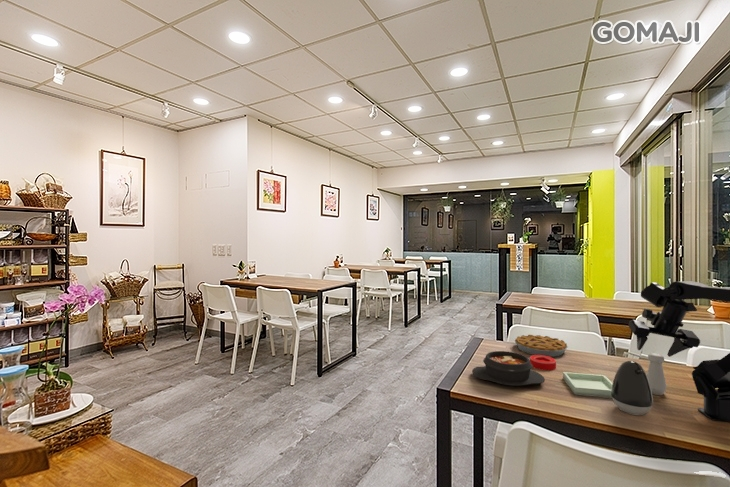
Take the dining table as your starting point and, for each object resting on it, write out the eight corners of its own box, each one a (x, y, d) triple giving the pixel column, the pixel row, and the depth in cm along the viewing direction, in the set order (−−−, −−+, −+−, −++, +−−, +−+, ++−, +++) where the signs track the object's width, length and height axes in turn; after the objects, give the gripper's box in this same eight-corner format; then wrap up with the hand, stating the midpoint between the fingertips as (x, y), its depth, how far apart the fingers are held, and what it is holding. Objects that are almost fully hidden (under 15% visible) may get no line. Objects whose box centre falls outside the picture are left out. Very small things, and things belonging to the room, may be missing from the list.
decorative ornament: (549, 362, 150) (549, 355, 150) (560, 371, 140) (560, 363, 140) (526, 361, 151) (526, 354, 151) (534, 370, 141) (534, 362, 141)
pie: (528, 340, 181) (528, 330, 181) (575, 350, 164) (575, 340, 164) (506, 349, 167) (506, 338, 167) (555, 362, 150) (555, 350, 150)
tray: (621, 398, 116) (621, 391, 116) (575, 394, 119) (575, 387, 119) (604, 381, 129) (604, 375, 129) (562, 378, 133) (562, 372, 133)
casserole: (474, 387, 125) (474, 364, 125) (470, 368, 144) (470, 347, 143) (551, 393, 120) (551, 369, 120) (537, 372, 138) (537, 351, 138)
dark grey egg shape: (621, 418, 104) (622, 366, 104) (604, 401, 114) (605, 354, 114) (661, 421, 102) (662, 368, 102) (640, 404, 112) (641, 356, 112)
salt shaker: (670, 397, 117) (671, 357, 117) (650, 395, 118) (651, 356, 118) (659, 389, 123) (660, 352, 122) (641, 388, 124) (641, 351, 124)
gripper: (691, 308, 122) (672, 344, 129) (630, 297, 126) (615, 332, 133) (710, 327, 112) (689, 365, 119) (643, 314, 117) (626, 352, 123)
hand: (653, 352), depth 124 cm, fingers open, 9 cm apart
